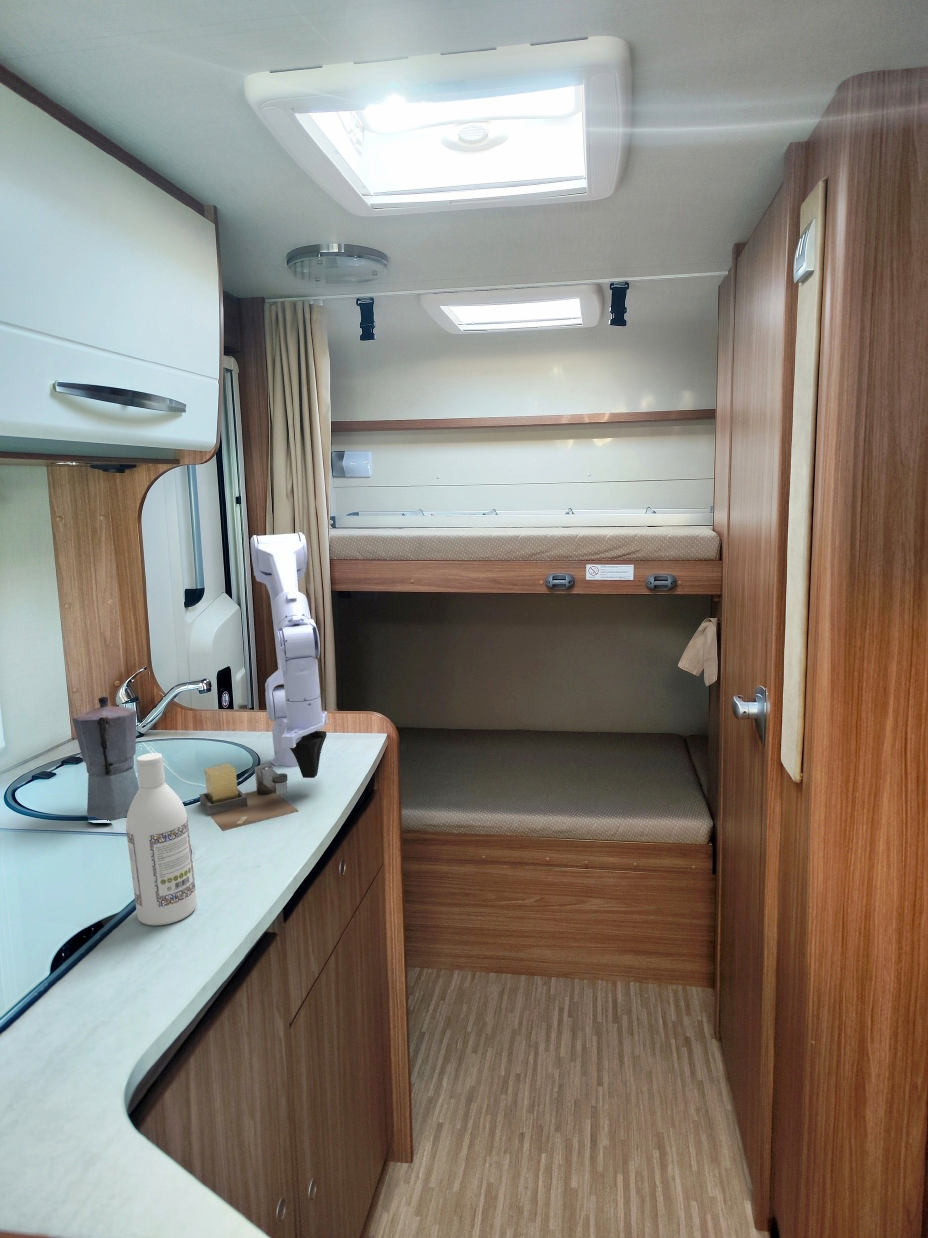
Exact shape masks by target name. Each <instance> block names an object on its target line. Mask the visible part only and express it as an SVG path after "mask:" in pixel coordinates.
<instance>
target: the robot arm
mask: <svg viewBox="0 0 928 1238" xmlns="http://www.w3.org/2000/svg"><path fill="white" fill-rule="evenodd" d="M249 542H250V554H251V561H252V568H253V575H254V577H255V580H256V581H257V582H260V583H262V584H264V585H265V586H266V588H267V591H268V593H269V597H270V605H271V615H272V624H273V625H272V626H273V634H274V644H275V652H276V660H277V668H278V669H277V670H276V671H275V672H273V673H272V674H271V675H270V676H269V677H268V678H267V679H266V681H265V684H264V688H265V704H266V705H265V706H266V712H267V713H266V714H267V719H268V720H269V721H271V722H274V723H273V725H272V729H271V730H272V731H271V732H272V734H271V735H272V743H273V744H272V745H273V753H274V758H271V759H270V760H269V761H270V763H271V765H272V766H275V767H276V766H282V767H287V768H292V767H293V768H294V767H295V768H296V767H298V768H299V770H300V774H301V776H302V778H303V779H315V778H316V776H318V773H319V768H320V767H319V766H320V761H321V760H320V759H321V754H322V748H323V745H324V743H325V741H326V738H327V737H328V736H327V731H325V730H321V729H323V728H324V727H325V724H326V725H327V724H328V723H329V718H328V712H327V711H323V710H322V699H321V697H322V696H321V686H320V676H319V665H318V664H319V662H318V659H319V658H320V653H321V646H320V645H321V644H320V635H319V631H318V627H317V625H316V623H315V620H314V619H312V617H311V613H310V607H309V603H308V602H309V601H308V599H307V596H306V595H305V594H304V593H302V592H300V591H299V582H298V581H299V580H301V579H302V578H304V577H305V573H306V570H307V562H308V547H307V541H306V537H305V534H303V532H299V531H298V532H296V533H284V534H283V533H282V534H281V533H280V534H266V535H256V534H255V535H252V537H251V538H250V541H249ZM316 657H317V658H316ZM280 685H281V687H277V686H280ZM282 685H283V686H282Z"/></svg>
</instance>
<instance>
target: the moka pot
mask: <svg viewBox="0 0 928 1238" xmlns="http://www.w3.org/2000/svg"><path fill="white" fill-rule="evenodd" d="M97 701H98V703H99V707H96V708H93V709H90V710H88V711H87V710H86V711H84V712H82V713H80V714H77V715H75V716H73V717H72V719H71V720H72V724H73V727H74V732H75V735H76V738H77V742H78V747H79V750H80V755H81V758H82V761H83V762H84V763H85V767H86V773H87V774H88V776H87V777H88V778H87V802H86V805H87V807H86V808H87V809H86V817H87V816H91V817H95V818H98V819H102V820H103V819H104V820H107V821H108V820H109V821H111V822H112V821H118V820H120V819H125V818H127V814H128V810H129V808H130V805H131V803H132V801H133V799H134V797H135V795H136V793H137V791H138V790H139V788H140V785H139V780H138V777H137V775H136V771H135V767H134V766H135V759H134V756H135V755H136V753H137V752H136V751H137V748H136V747H137V746H136V745H137V710H136V709H135V708H134V709H133V708H131V707H127V706H126V707H125V706H109V705H108V704H109V703H108V702H109V697H107V696H101V697H98V699H97Z"/></svg>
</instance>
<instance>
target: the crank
mask: <svg viewBox="0 0 928 1238" xmlns="http://www.w3.org/2000/svg"><path fill="white" fill-rule="evenodd" d="M254 777H255V778H254V779H255V787H256V790H257V794H259V795H266V794H271V793H273V792H274V793H275V794H276V795H278V794H280V795H282V794H286V793H288V782H287V781H288V780H289V779H288V774H287V773H283V772H281V773H278V772H277V771H275V770H274V765H273V764H265V763H264V764H259V765H257V766H255V767H254Z"/></svg>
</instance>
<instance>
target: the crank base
mask: <svg viewBox="0 0 928 1238" xmlns="http://www.w3.org/2000/svg"><path fill="white" fill-rule="evenodd" d="M237 789H238V798H236V799H232V800H228V801H224V802H219V803H215V804H211V803H210V802H209V801H208V797H207V792H205V793H200V794H199V803H200V806H201V807H202V808H203V809H204V810H205V811H206V813H207V814H208V815H209V817H211V819H212V820H213V821H214V822H215V823H216V825H217V826H218V828H220V829H221V831H223V832H225V831H229V830H232V829H236V828H240V827H243V826H247V825H252V824H256V823H260V822H263V821H268V820H270V819H274V818H278V817H281V816H286V815H290V814H294V813H298V812H299V809H298V808H296V807H295V806H294V805H293V804H292V803H290V802H289V801H288V800H287V799H285V798H284V797H283V796H282V794H278V795H276V794H275V793H274V792H273V793H271V794H266V795H259V794H257V789H256V790H253V791H252V790H251V791H249V792H244V793H243V792H242V791H241V790H240V789H239V788H238V787H237Z"/></svg>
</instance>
